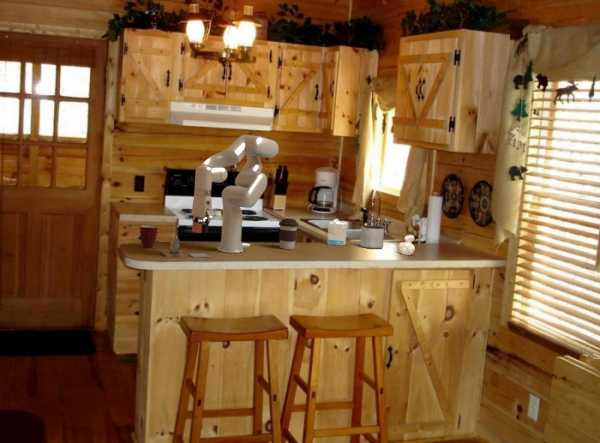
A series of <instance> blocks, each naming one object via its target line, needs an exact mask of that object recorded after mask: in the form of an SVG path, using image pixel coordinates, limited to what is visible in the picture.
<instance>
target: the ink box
mask: <svg viewBox="0 0 600 443" xmlns="http://www.w3.org/2000/svg"><path fill="white" fill-rule="evenodd" d="M347 226H348V223H347V222H341V221H340V220H339V219H338V218H335V219H333V221H331V222H328V229H327V242H326V244H327V245H330V246H344V245H346V240H347Z"/></svg>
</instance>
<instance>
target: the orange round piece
mask: <svg viewBox="0 0 600 443" xmlns="http://www.w3.org/2000/svg"><path fill="white" fill-rule="evenodd" d="M202 224H203V221H198V222H193V221H192V227H191V228H192V229H191V232H192V233H198V234H203V233H202Z"/></svg>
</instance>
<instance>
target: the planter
mask: <svg viewBox="0 0 600 443" xmlns="http://www.w3.org/2000/svg"><path fill="white" fill-rule="evenodd" d="M360 228H361V229H360V237H359V238H360V240H359V246H360V247H361V248H365V249H369V250H370V249H371V250H381V249H382V248H383V247H384V239H385V238H384V236H385V227H384V226H380V225H370V224H368V225H367V224H365V225H363V224H362V225H361V227H360Z"/></svg>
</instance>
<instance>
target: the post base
mask: <svg viewBox="0 0 600 443" xmlns="http://www.w3.org/2000/svg"><path fill="white" fill-rule="evenodd" d="M160 254H161V255H163V256H164V257H166V258H189V255H188V254H189V253H186V252H184V251H183V250H181V247H180V239H177V238H171V239H170V246H169V248H168V249H167V250H160Z"/></svg>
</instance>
